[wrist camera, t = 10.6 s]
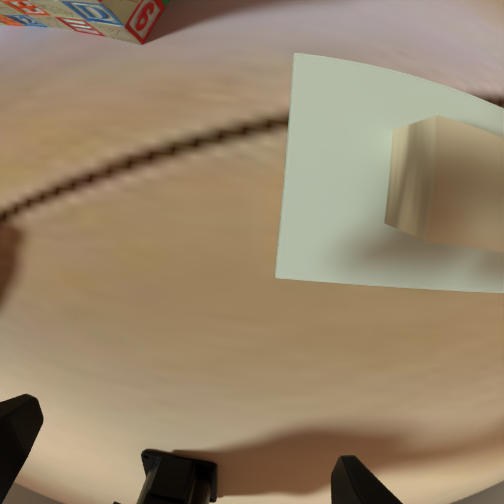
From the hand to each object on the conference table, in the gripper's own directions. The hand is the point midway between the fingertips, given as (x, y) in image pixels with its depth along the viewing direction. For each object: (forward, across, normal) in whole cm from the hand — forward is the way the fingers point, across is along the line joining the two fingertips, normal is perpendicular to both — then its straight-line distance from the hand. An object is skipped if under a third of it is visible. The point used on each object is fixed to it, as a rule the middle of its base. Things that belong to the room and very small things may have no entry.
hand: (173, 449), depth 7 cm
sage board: (+11, -10, -8) cm, 18 cm away
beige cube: (+10, -10, -8) cm, 17 cm away
